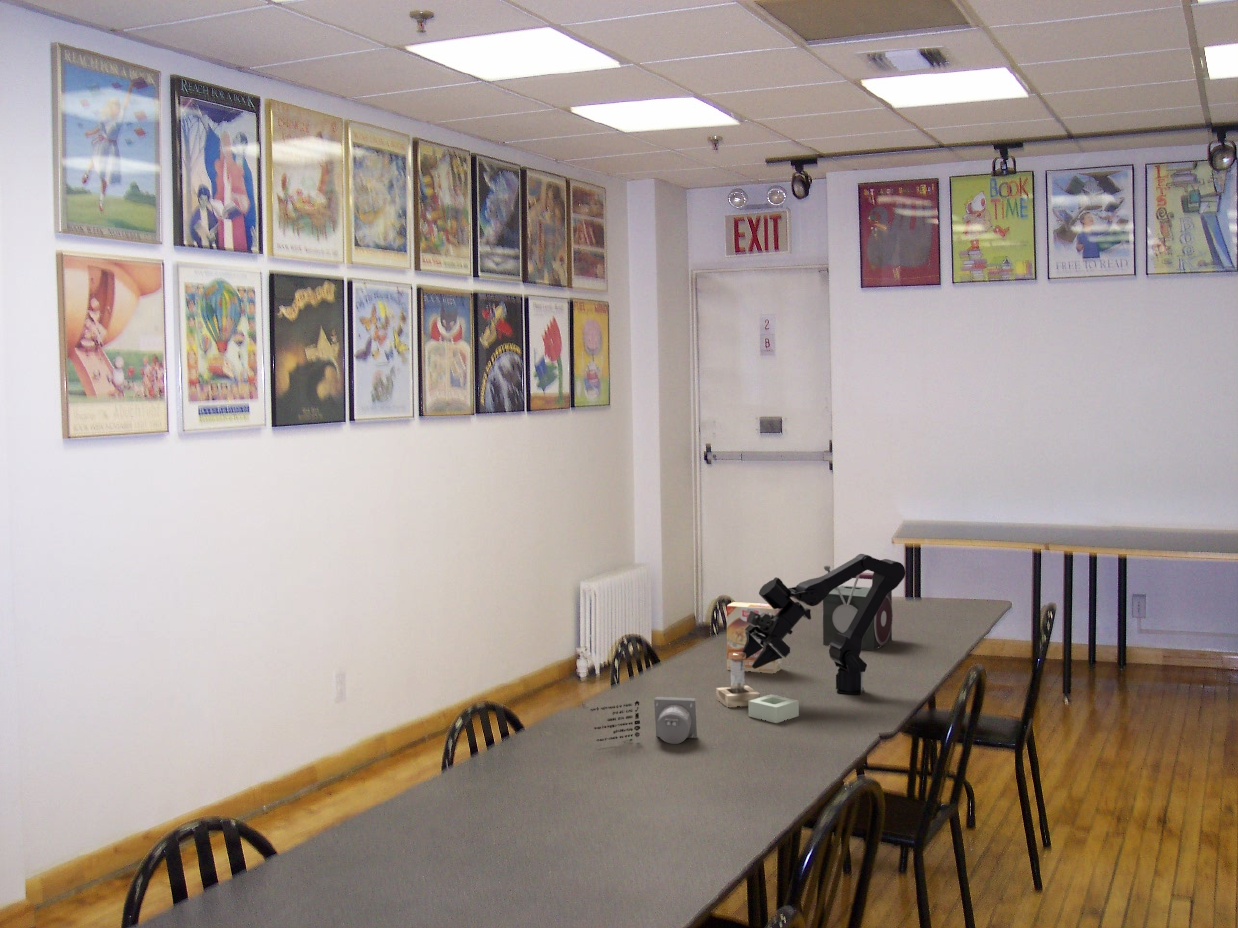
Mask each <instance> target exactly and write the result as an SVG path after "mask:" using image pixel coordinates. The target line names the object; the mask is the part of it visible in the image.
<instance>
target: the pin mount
mask: <svg viewBox="0 0 1238 928" xmlns="http://www.w3.org/2000/svg"><path fill="white" fill-rule="evenodd" d="M744 686H745V693H736V694H732V693H731V686H727V687H726V686H724V687H715V699H716V700H717V701H718V702H719V701H720V703H721V704H723V706H725V707H726V708H728V707H729V708H737V706H740V707H748V701H750V700H753V699H757V698H760V697H761V693H760V692H758V691H757V690H755V689H753V688H752V687H751V686H749V685H744Z"/></svg>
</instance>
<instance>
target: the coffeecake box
mask: <svg viewBox="0 0 1238 928" xmlns="http://www.w3.org/2000/svg"><path fill="white" fill-rule="evenodd" d="M779 610H780V609H778V608H777V609H773V608H772V607H771V606H770V605H769V604H768V603H758V602H757V603H756V602H743V601H742V602H740V601H739V602H738V601H732V602H730V603H728V604H727V605H726V667H727V668H726V670H727V671H731V659H729V653H731V652H742V651H743V648H744V646H745V644H746V641H747V638H746V634H745V632H746V631H745V629H746V628H747V627H748V625H751V623H749V622H747V618H748V616H749V614H750V611H753V612H755V613H757V614H760V615H761V614H762V613H766V614H768V615H774V616H775V615H776V614H777V613H778V611H779ZM758 627H759V626H758ZM761 646H762V645H761ZM762 647H763V646H762ZM762 650H763V649H761V650H760V651H758V652H756V653H755V654H753V655H752V656H750V657H749V658H747V659H745V660H744V672H748V671H751V672H750V673H760V672H762V673H761V674H763V673H764V674H773V673H776V672H777V671H778V672H779V671H780V670H781V669H782V658H781V659H777V660H775V661H772V662H770V663H767V664H765V665H763V666H760V667H758V668H756V669H754V668H753V667H752V665H753V663H754V662H755V660H756V659H757V657H758V656H759V654H760V653H761V652H762ZM778 672H777V673H778ZM777 673H776V674H777Z"/></svg>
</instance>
